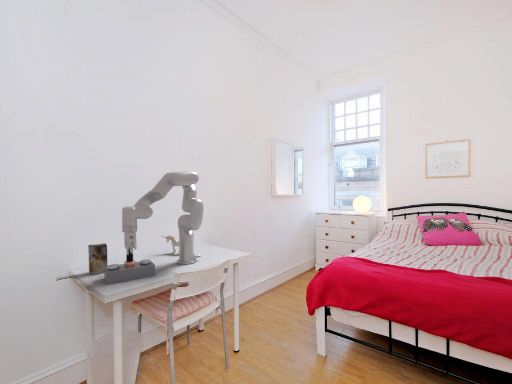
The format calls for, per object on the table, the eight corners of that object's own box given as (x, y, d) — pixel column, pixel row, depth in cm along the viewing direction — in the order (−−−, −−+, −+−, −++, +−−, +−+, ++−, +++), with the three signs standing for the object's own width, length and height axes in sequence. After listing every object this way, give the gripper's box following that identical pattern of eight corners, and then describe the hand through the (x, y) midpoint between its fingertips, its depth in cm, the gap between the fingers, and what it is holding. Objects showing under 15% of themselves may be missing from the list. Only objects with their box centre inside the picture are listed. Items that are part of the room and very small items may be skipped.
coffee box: (106, 269, 158) (106, 242, 157) (107, 272, 152) (107, 244, 152) (88, 272, 152) (88, 244, 152) (89, 275, 147) (88, 247, 147)
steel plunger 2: (149, 268, 154) (149, 258, 154) (151, 271, 149) (151, 261, 149) (139, 270, 151) (139, 260, 150) (141, 273, 146) (141, 262, 146)
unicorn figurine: (165, 251, 199) (165, 234, 199) (190, 252, 198) (190, 234, 198) (161, 254, 192) (161, 236, 192) (187, 254, 191) (187, 236, 191)
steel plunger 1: (118, 274, 145) (118, 263, 144) (120, 277, 140) (120, 265, 140) (107, 276, 141) (107, 265, 141) (108, 279, 137) (108, 267, 137)
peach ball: (134, 269, 149) (134, 259, 149) (136, 272, 145) (136, 261, 144) (123, 271, 146) (123, 261, 146) (125, 274, 141) (125, 263, 141)
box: (150, 269, 157) (150, 259, 157) (155, 275, 147) (155, 265, 147) (104, 277, 143) (104, 266, 143) (106, 284, 134) (106, 273, 133)
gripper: (139, 230, 141) (139, 263, 141) (134, 226, 153) (134, 257, 153) (124, 231, 136) (124, 266, 137) (120, 227, 148) (120, 259, 149)
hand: (129, 261), depth 145 cm, fingers closed
